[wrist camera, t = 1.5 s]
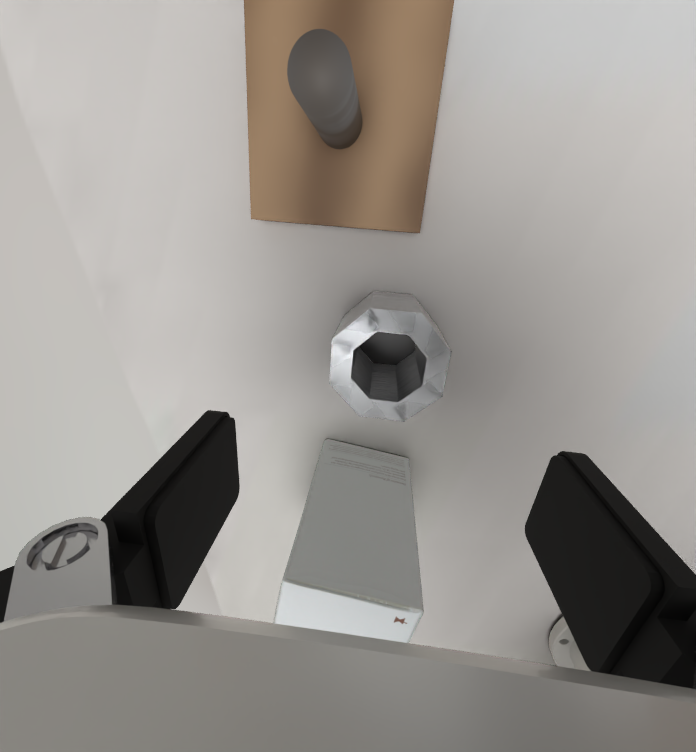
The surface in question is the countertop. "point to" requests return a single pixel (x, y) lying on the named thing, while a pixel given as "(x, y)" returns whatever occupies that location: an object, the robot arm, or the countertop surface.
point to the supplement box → (355, 549)
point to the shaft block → (343, 109)
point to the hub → (382, 381)
